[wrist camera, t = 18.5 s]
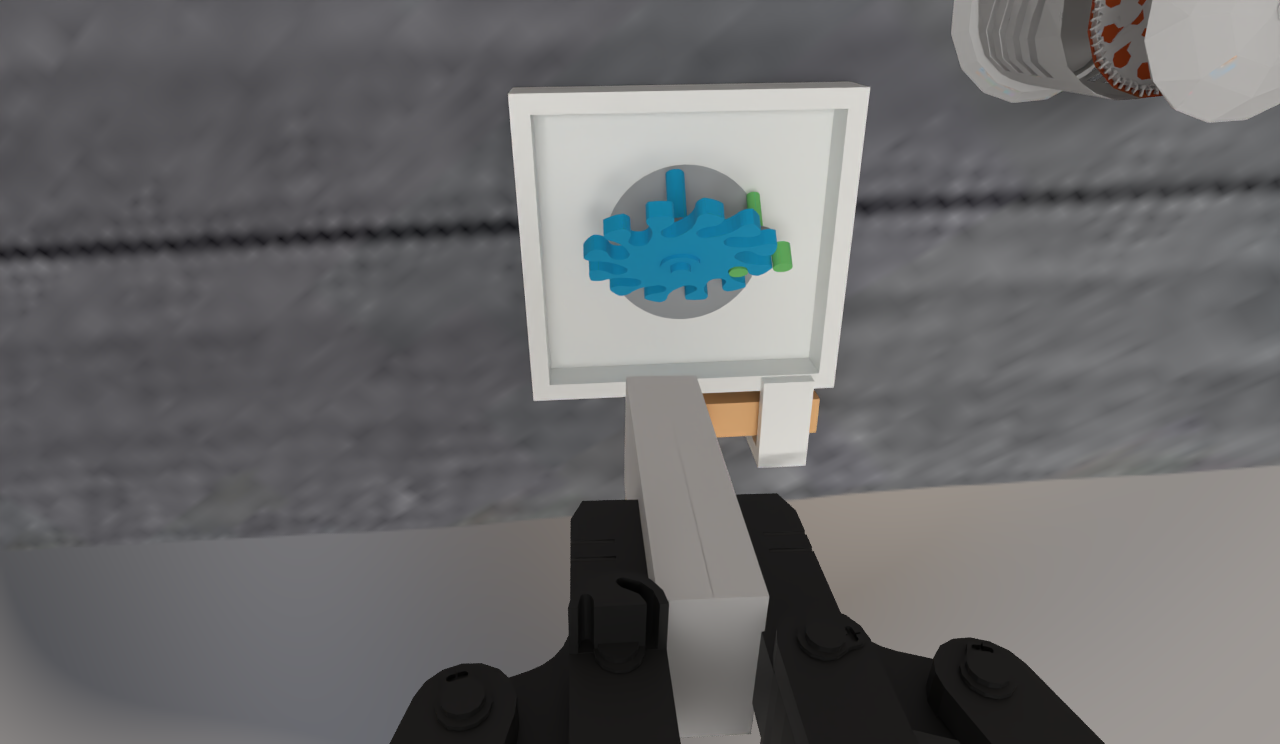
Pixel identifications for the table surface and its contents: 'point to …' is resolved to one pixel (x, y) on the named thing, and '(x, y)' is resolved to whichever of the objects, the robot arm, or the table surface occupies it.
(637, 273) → the gear
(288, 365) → the table surface
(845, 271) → the tray
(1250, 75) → the french press
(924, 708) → the robot arm
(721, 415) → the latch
